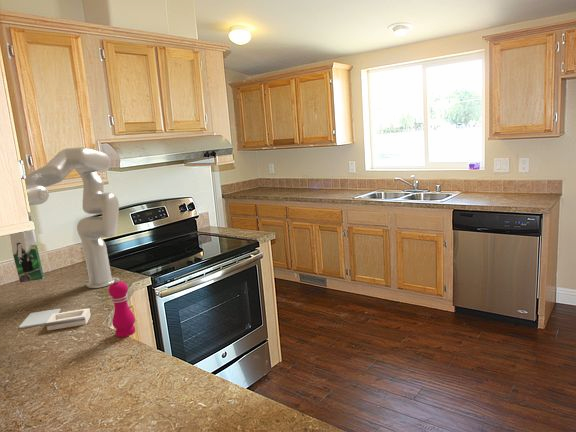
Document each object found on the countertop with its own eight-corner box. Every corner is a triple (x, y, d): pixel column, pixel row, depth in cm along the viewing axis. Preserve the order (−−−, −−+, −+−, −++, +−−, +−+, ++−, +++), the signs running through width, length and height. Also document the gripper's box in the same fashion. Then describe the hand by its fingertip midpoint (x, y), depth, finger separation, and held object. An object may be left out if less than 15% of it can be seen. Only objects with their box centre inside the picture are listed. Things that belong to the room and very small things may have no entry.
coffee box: (18, 283, 161) (11, 249, 159) (21, 280, 164) (13, 247, 161) (42, 279, 163) (35, 245, 161) (44, 277, 166) (37, 244, 163)
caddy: (53, 321, 163) (52, 314, 163) (90, 315, 166) (89, 308, 166) (46, 331, 155) (45, 324, 154) (85, 325, 158) (84, 317, 157)
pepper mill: (129, 338, 144) (119, 281, 140) (110, 338, 146) (100, 281, 142) (141, 328, 151) (131, 274, 147) (122, 328, 153) (112, 274, 149)
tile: (30, 314, 172) (30, 313, 172) (60, 309, 174) (60, 308, 174) (18, 328, 160) (18, 327, 159) (51, 323, 162) (51, 321, 162)
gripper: (16, 219, 166) (26, 265, 170) (-1, 228, 150) (10, 278, 154) (38, 216, 168) (47, 262, 171) (23, 225, 152) (33, 275, 156)
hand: (29, 269), depth 163 cm, fingers closed on coffee box, 3 cm apart
